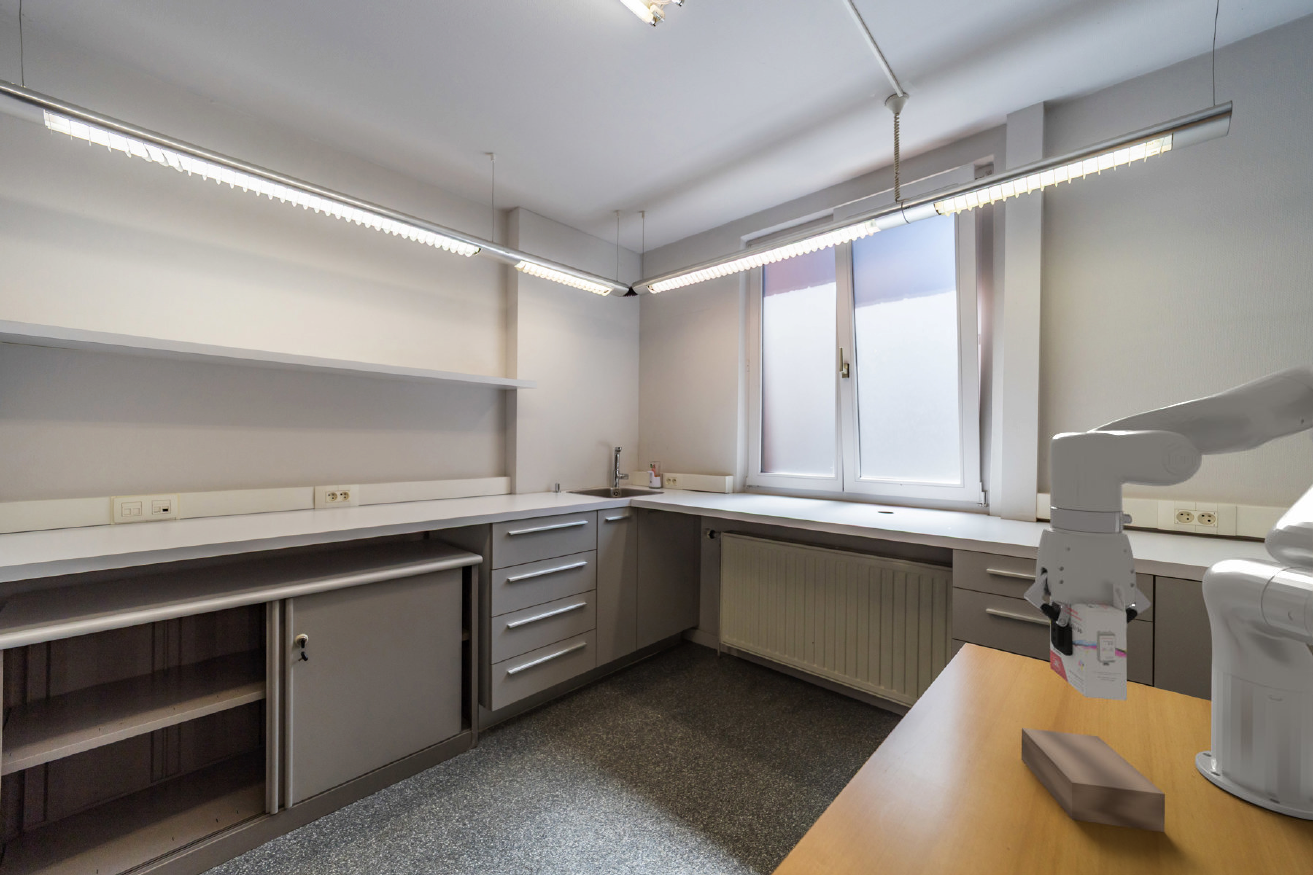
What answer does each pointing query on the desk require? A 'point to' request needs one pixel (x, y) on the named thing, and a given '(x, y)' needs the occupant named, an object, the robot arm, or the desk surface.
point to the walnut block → (1093, 780)
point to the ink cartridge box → (1096, 650)
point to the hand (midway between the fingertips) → (1085, 651)
